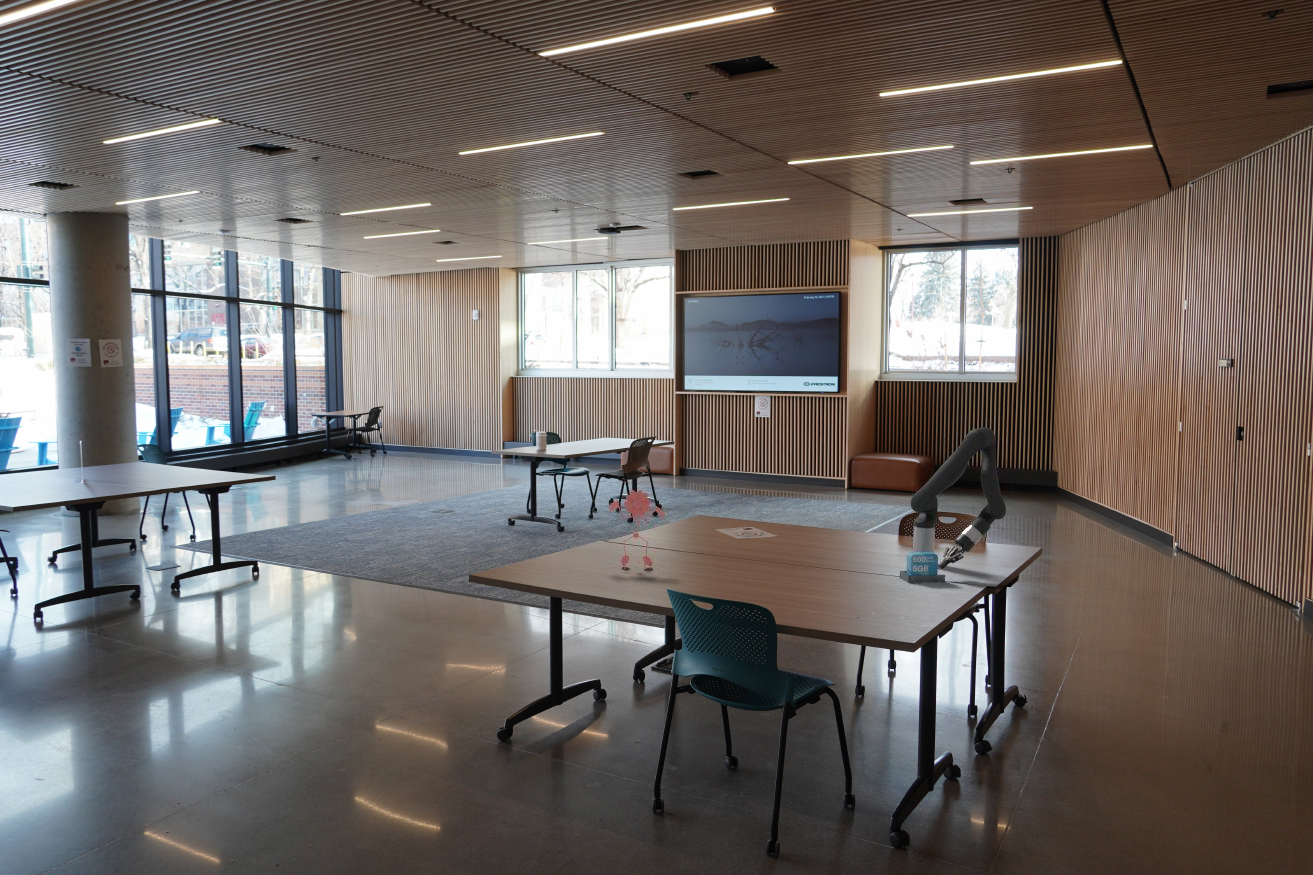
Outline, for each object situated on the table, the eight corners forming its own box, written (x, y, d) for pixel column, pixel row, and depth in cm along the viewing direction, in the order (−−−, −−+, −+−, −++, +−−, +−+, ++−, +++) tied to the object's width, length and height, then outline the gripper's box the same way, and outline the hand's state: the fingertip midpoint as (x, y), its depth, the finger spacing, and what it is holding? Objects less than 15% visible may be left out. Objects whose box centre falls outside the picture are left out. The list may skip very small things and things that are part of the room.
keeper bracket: (899, 577, 385) (899, 570, 385) (935, 576, 387) (935, 569, 387) (908, 583, 376) (909, 575, 375) (945, 581, 378) (945, 574, 378)
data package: (910, 582, 377) (911, 554, 376) (906, 580, 381) (906, 552, 380) (937, 581, 378) (938, 553, 377) (932, 579, 383) (933, 551, 382)
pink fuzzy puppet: (663, 571, 396) (663, 492, 394) (606, 568, 401) (606, 490, 399) (668, 564, 411) (669, 488, 410) (614, 562, 416) (614, 487, 414)
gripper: (955, 529, 389) (928, 558, 388) (970, 535, 376) (941, 564, 375) (967, 541, 390) (939, 569, 389) (981, 547, 377) (953, 577, 376)
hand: (940, 567), depth 382 cm, fingers closed
